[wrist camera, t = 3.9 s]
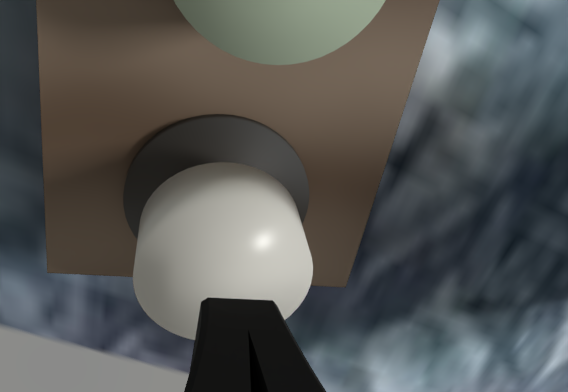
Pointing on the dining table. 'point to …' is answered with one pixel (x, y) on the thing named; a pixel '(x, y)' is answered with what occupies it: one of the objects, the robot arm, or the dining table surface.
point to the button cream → (219, 245)
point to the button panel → (211, 124)
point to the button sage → (279, 26)
